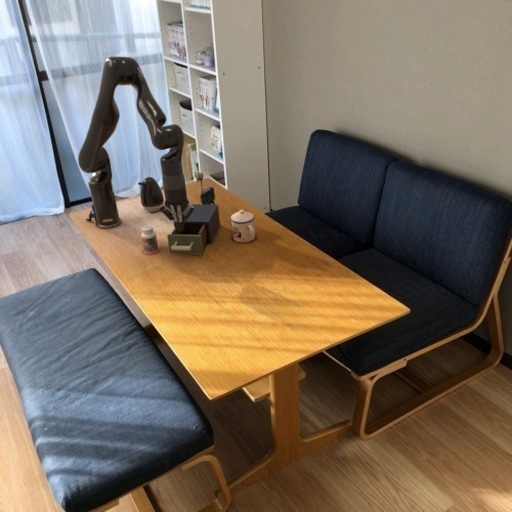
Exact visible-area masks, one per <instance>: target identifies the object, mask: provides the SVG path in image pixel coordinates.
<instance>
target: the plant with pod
mask: <svg viewBox="0 0 512 512" xmlns="http://www.w3.org/2000/svg"><path fill="white" fill-rule="evenodd" d="M195 178H196V183H199V182H200V186H201V191H200V193H199V194H200V195H199V199H200V204H212V205H216V203H215V200H216V194H215V188H214V186H210V185H208V186H206V187H204V188H203V180H204V173H203V172H200V171H198V172H197V173H196V177H195Z"/></svg>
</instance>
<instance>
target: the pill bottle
mask: <svg viewBox="0 0 512 512" xmlns="http://www.w3.org/2000/svg"><path fill="white" fill-rule="evenodd" d="M141 231H142V233H141V241H142V246H143V247H142V248H143V252H144V253H145V254H149V255H151V254H155V253H157V252H158V251H159V245H158V237H157V232H156V231H155V230H154V227H153V226H152V225H143V227H141Z"/></svg>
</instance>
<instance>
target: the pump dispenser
mask: <svg viewBox="0 0 512 512" xmlns="http://www.w3.org/2000/svg"><path fill="white" fill-rule="evenodd" d="M137 185H138V186H140V197H139V199H140V204H141V206H142V208H143V209H144V210H145V211H147V212H149V213H155V212H158V211H161V210H160V207H161V206H162V205H164V204H165V196H164V192H163V191H162V189H161V186H160V185H159V183H158V182H157V180H156V179H155V178H154V177H152V176H147V177H145V178H144V179H143V180H142V181H141V182H140V181H139V182H138V183H137Z"/></svg>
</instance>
